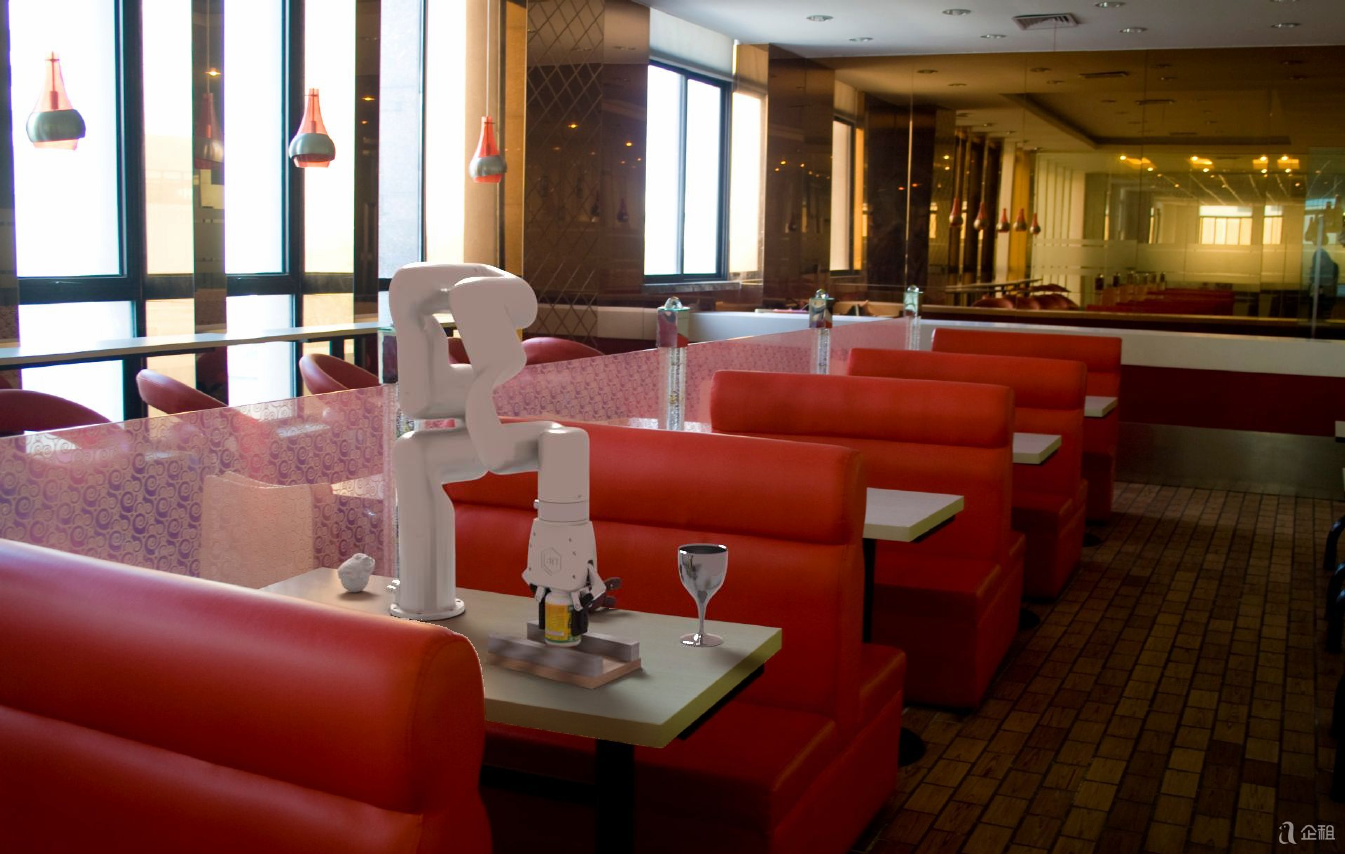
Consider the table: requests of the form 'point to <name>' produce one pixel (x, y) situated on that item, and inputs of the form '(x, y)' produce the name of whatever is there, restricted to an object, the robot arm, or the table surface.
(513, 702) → the table surface
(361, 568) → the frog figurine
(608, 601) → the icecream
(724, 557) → the wine glass
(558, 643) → the supplement bottle
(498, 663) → the sliding track
